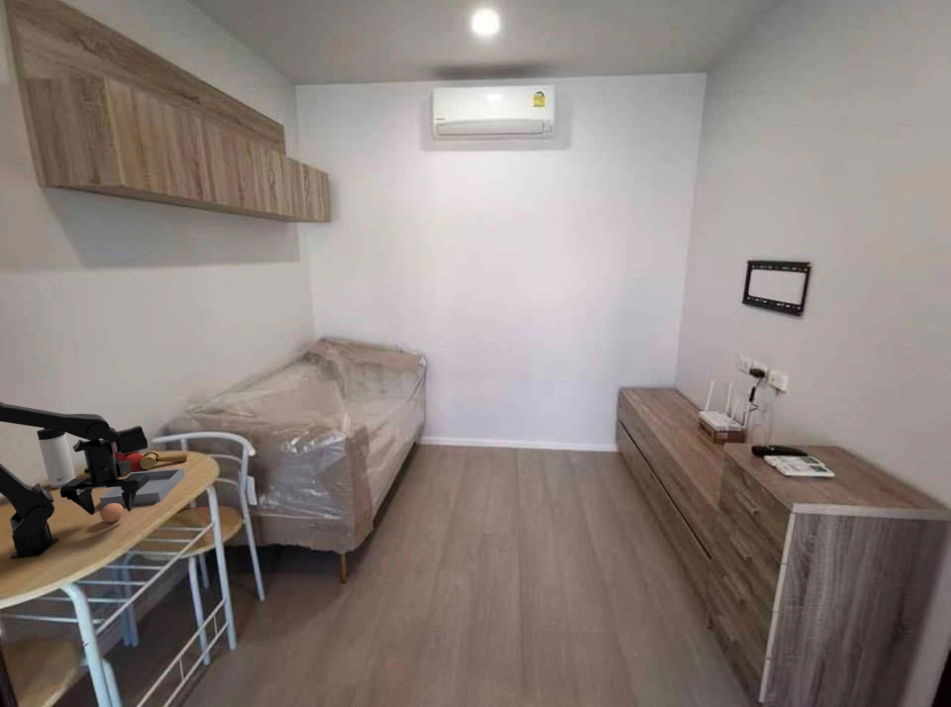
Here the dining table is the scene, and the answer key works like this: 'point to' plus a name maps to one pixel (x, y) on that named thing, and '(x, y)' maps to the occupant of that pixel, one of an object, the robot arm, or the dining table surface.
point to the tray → (147, 487)
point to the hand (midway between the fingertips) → (111, 512)
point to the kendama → (152, 459)
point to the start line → (140, 504)
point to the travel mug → (56, 457)
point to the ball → (111, 512)
